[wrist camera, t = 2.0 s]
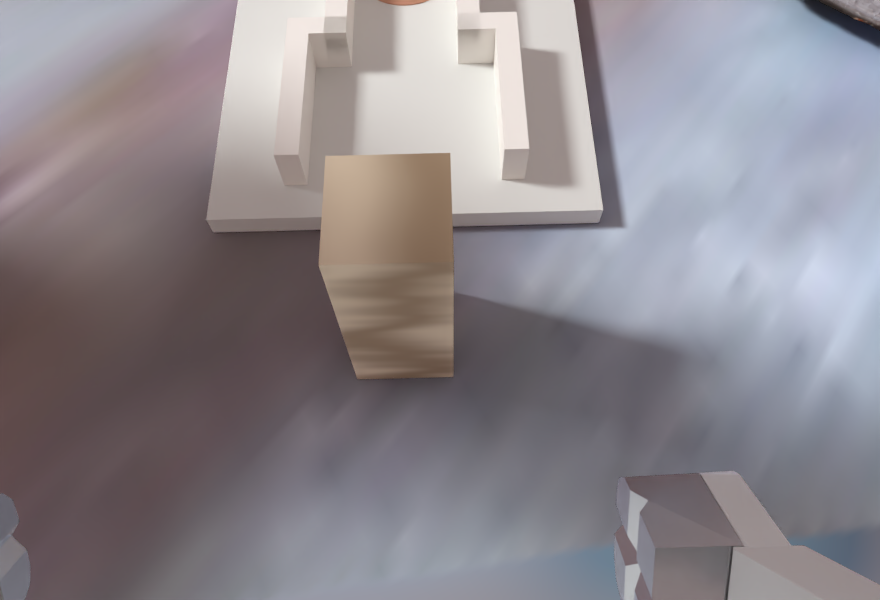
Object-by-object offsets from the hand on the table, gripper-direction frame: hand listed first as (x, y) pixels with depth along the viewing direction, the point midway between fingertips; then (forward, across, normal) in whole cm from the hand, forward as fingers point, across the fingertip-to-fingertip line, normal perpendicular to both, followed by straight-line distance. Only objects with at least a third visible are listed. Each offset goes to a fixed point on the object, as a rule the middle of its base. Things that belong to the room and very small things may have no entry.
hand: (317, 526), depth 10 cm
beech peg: (+24, 0, +7) cm, 25 cm away
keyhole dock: (+36, 0, -6) cm, 37 cm away
